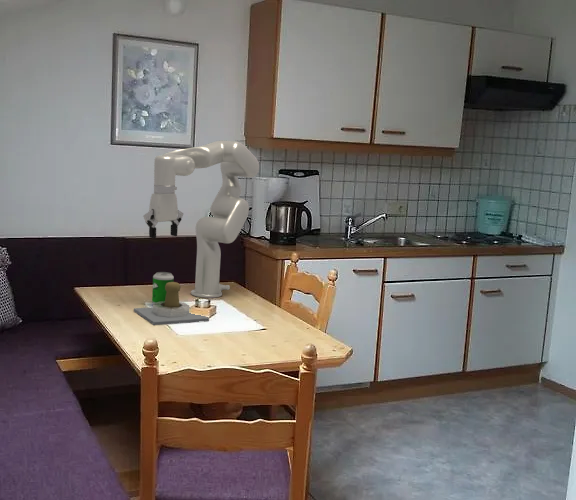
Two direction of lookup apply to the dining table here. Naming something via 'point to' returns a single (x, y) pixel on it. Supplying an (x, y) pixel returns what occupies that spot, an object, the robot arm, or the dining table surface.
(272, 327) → the dining table surface
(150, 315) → the slate board
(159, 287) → the soda can
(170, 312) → the steel collar
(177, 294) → the cork
